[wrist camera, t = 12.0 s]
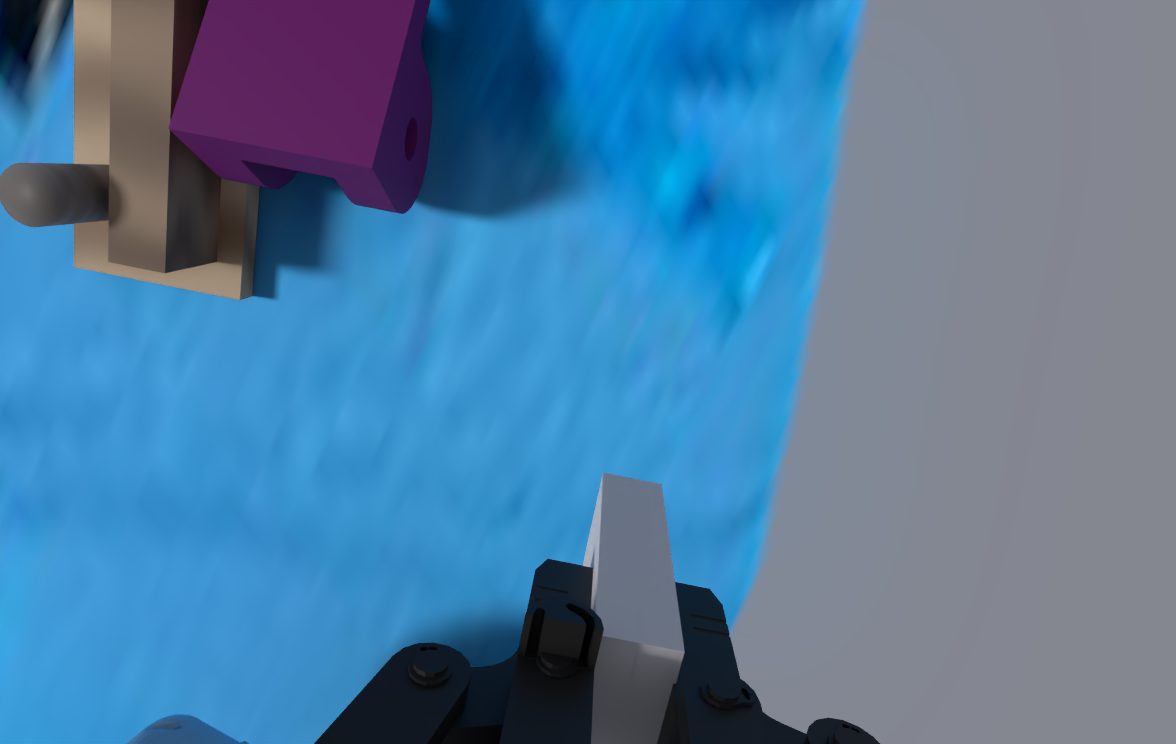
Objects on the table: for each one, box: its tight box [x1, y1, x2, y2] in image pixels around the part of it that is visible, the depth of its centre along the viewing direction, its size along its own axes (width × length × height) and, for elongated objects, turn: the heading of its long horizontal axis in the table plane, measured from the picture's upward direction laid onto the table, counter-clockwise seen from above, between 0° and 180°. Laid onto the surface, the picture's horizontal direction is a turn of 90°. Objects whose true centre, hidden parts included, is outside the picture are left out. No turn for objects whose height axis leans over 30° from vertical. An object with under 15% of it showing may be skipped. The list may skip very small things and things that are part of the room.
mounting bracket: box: [168, 0, 432, 214], centre depth 38 cm, size 9×8×18 cm
